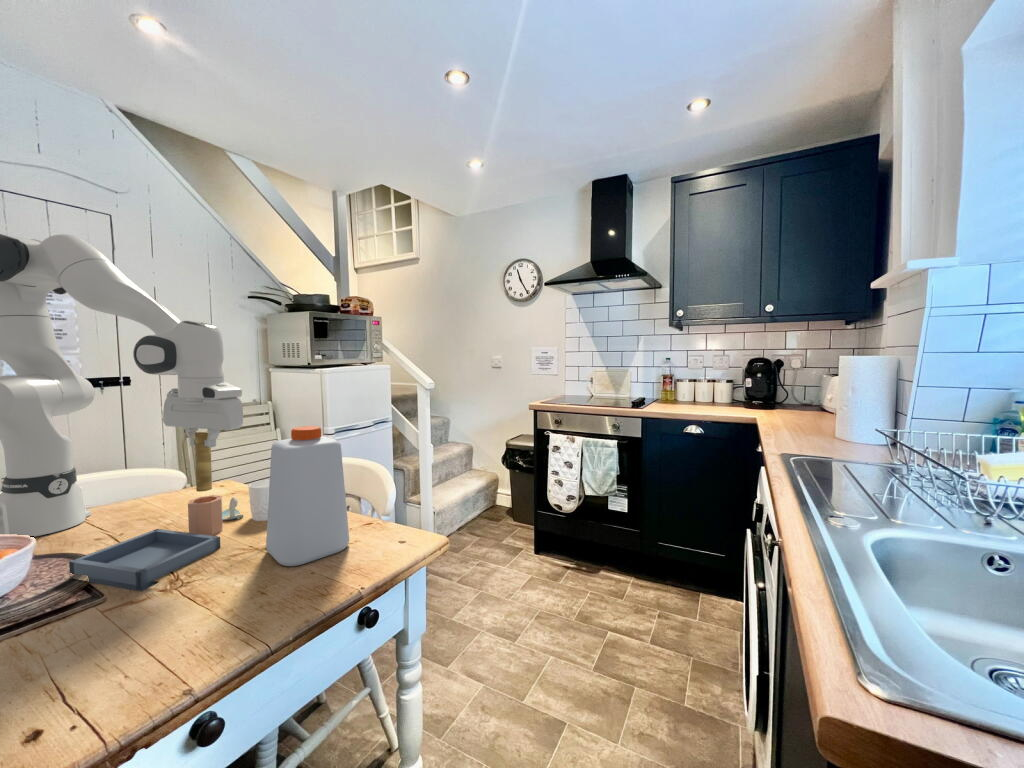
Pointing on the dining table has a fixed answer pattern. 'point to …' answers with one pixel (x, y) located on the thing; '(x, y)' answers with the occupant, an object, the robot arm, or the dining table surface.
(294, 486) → the plastic bottle
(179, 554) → the navy tray
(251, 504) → the white cup
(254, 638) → the dining table surface
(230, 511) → the pacifier
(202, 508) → the terracotta cup
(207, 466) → the dowel pin
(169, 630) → the dining table surface
